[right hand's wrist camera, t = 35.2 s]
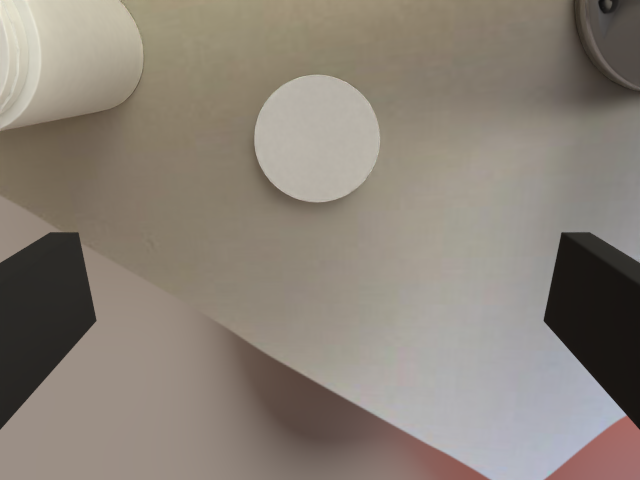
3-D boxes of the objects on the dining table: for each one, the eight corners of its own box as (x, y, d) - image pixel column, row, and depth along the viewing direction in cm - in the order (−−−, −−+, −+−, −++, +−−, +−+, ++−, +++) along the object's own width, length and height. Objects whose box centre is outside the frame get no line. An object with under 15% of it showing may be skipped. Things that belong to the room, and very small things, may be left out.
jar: (64, -54, 32) (-141, -151, 18) (169, 48, 34) (61, 34, 20) (-5, 48, 35) (-235, 34, 20) (97, 136, 37) (-44, 179, 23)
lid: (269, 60, 35) (267, 60, 33) (392, 91, 36) (395, 92, 34) (247, 182, 38) (243, 187, 37) (359, 208, 39) (361, 214, 37)
